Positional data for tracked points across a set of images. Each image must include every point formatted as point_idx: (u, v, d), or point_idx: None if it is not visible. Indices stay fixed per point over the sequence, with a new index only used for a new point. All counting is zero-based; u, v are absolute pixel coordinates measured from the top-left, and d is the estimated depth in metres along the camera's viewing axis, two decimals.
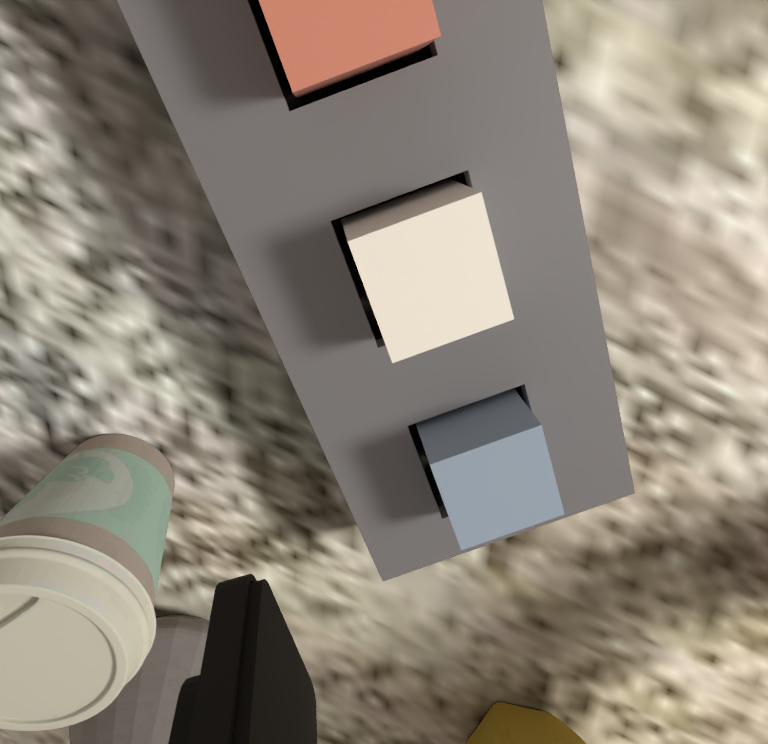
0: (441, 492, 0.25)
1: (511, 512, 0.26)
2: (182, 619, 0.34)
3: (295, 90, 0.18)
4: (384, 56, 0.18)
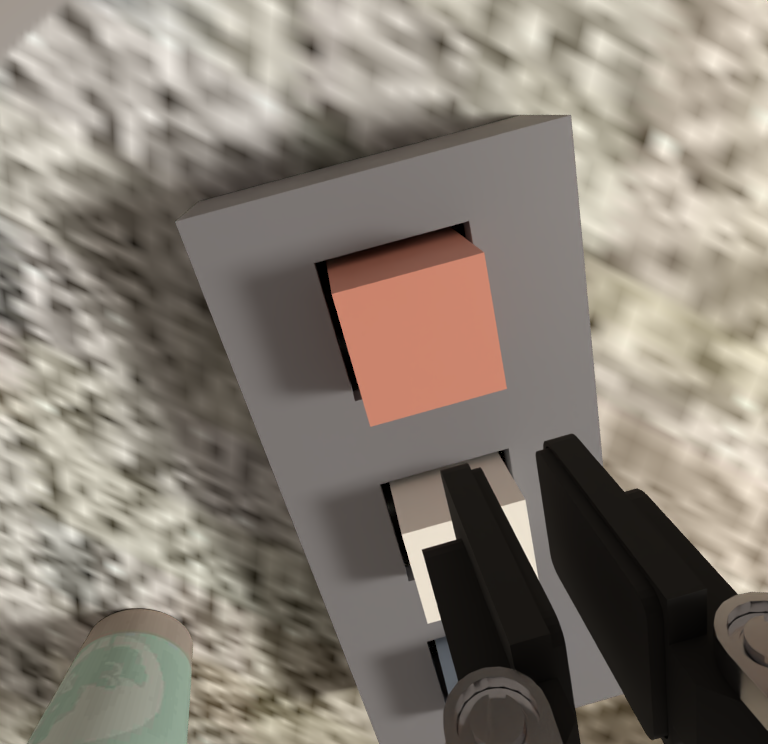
0: None
1: None
2: None
3: (373, 424, 0.20)
4: (455, 402, 0.20)
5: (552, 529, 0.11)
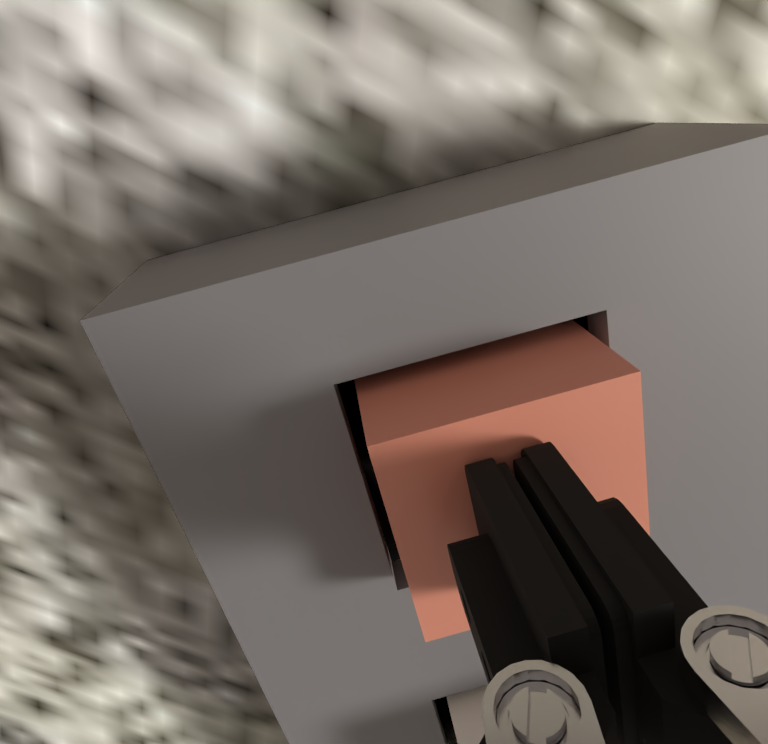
0: None
1: None
2: None
3: (429, 639, 0.12)
4: None
5: None
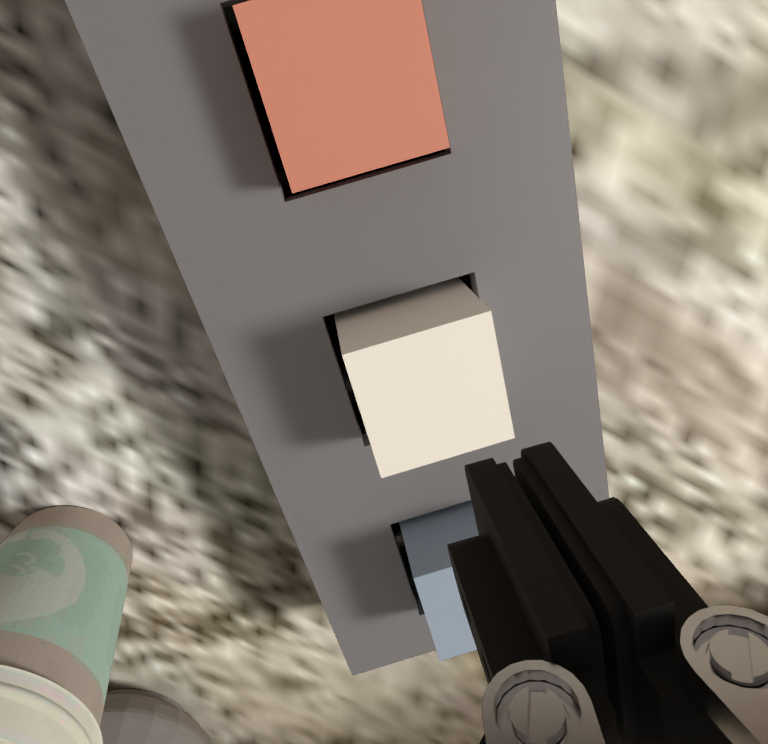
0: (423, 605, 0.23)
1: None
2: (132, 699, 0.32)
3: (295, 191, 0.18)
4: (390, 163, 0.18)
5: None
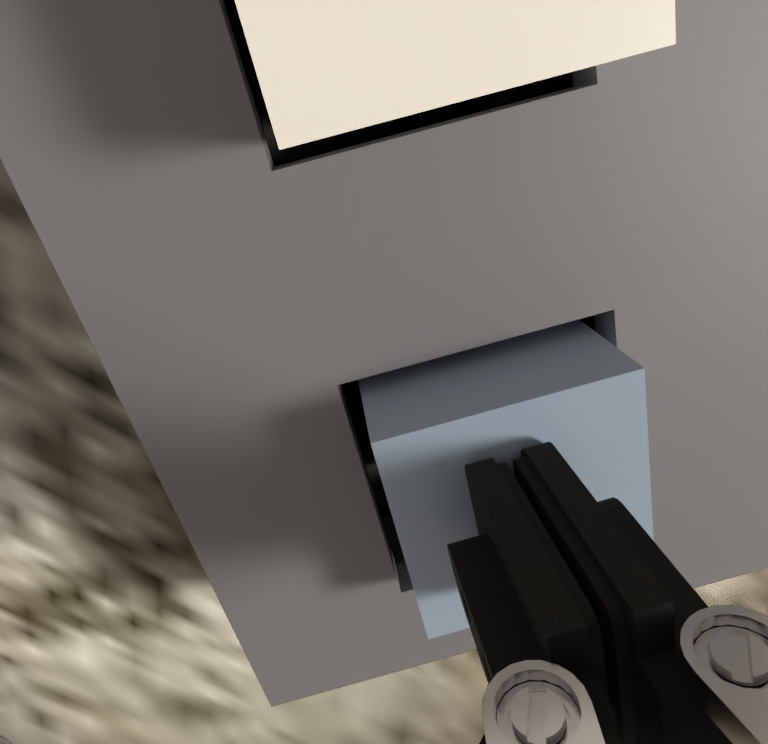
0: (394, 511, 0.11)
1: None
2: None
3: None
4: None
5: None
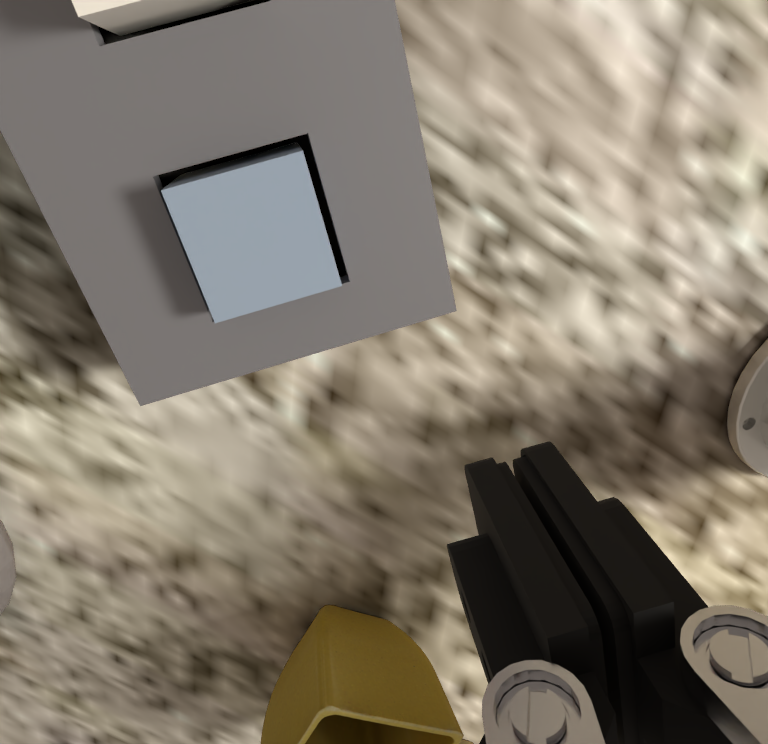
0: (180, 234, 0.20)
1: (275, 274, 0.21)
2: None
3: None
4: None
5: None
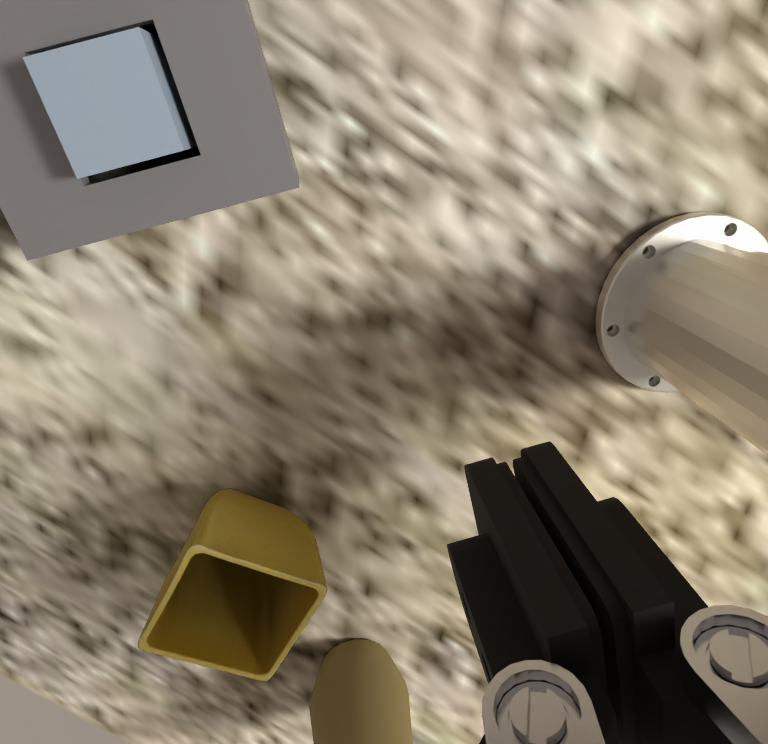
0: (42, 97, 0.25)
1: (124, 137, 0.26)
2: None
3: None
4: None
5: None
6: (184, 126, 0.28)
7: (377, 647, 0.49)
